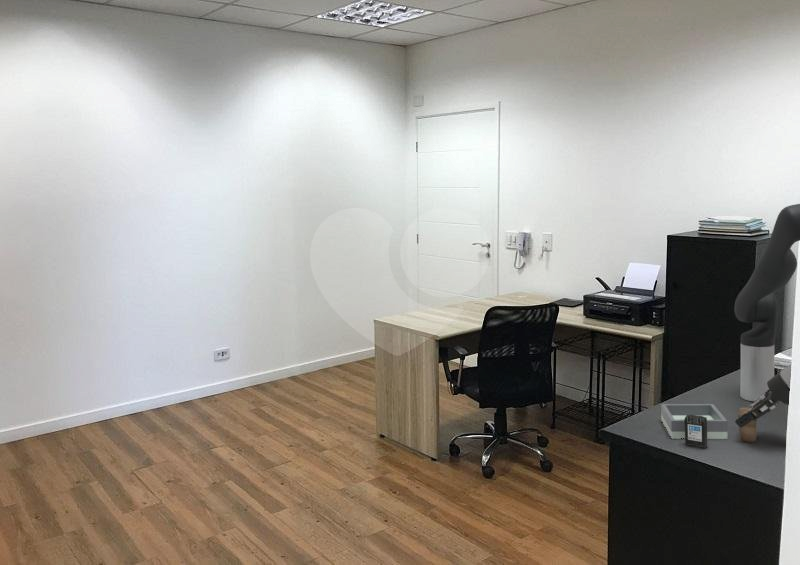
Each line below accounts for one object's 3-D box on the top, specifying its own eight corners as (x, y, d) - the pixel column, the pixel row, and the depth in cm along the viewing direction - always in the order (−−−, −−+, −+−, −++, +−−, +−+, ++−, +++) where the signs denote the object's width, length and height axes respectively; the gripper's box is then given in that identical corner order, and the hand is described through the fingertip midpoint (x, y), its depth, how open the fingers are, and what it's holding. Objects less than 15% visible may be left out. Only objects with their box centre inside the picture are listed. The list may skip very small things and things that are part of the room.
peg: (737, 436, 179) (737, 407, 178) (753, 436, 178) (753, 407, 177) (741, 442, 175) (742, 412, 174) (758, 442, 175) (758, 412, 174)
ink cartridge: (684, 446, 175) (684, 416, 174) (687, 443, 177) (686, 414, 176) (705, 449, 172) (704, 419, 171) (707, 446, 174) (706, 416, 173)
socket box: (661, 420, 194) (661, 404, 193) (713, 421, 191) (713, 404, 191) (671, 438, 181) (671, 420, 180) (727, 439, 178) (727, 421, 177)
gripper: (784, 364, 176) (733, 403, 184) (777, 378, 164) (723, 418, 173) (807, 386, 173) (754, 424, 182) (802, 402, 162) (745, 442, 171)
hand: (739, 421), depth 177 cm, fingers closed on peg, 4 cm apart
